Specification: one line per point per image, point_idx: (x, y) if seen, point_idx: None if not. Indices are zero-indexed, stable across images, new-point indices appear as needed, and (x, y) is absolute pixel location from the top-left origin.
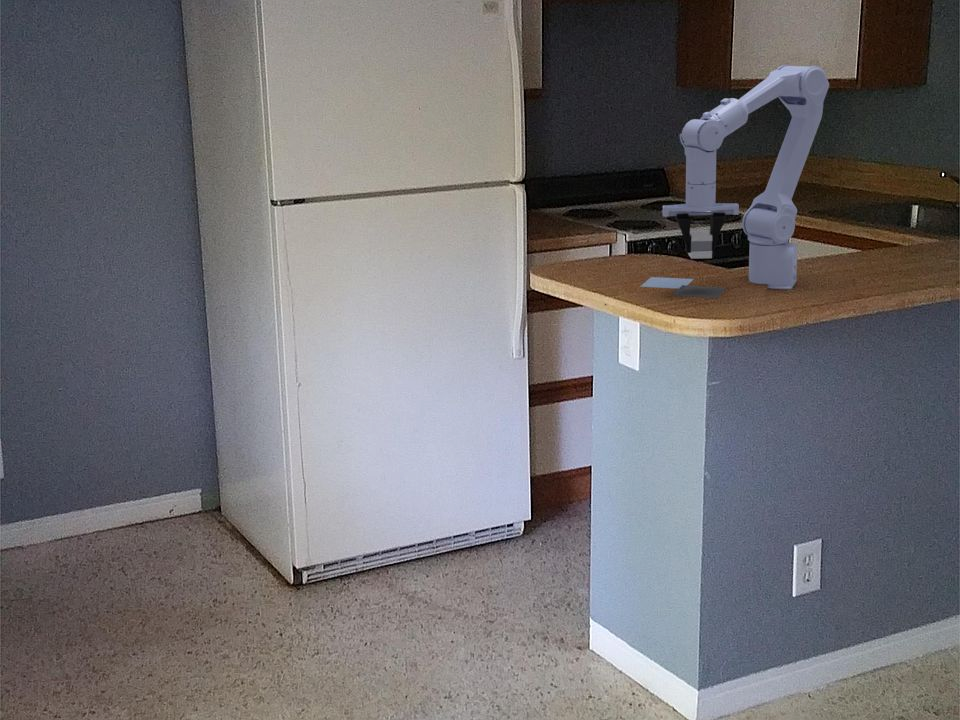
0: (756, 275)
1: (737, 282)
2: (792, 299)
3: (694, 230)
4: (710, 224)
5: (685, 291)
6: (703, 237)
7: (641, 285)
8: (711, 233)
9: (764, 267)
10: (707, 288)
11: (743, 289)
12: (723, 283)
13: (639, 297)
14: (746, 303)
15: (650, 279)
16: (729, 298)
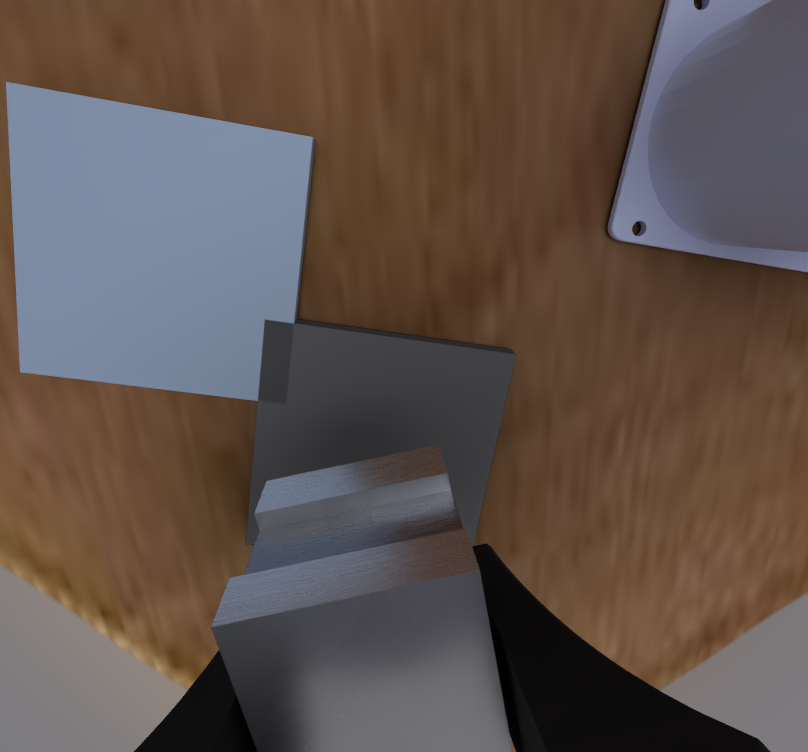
0: (715, 229)
1: (579, 75)
2: (798, 450)
3: (302, 619)
4: (537, 750)
5: (304, 462)
6: None
7: (20, 345)
8: (520, 737)
9: (802, 251)
10: (414, 384)
11: (600, 265)
12: (495, 112)
13: (77, 490)
14: (591, 539)
15: (24, 167)
16: (520, 462)
